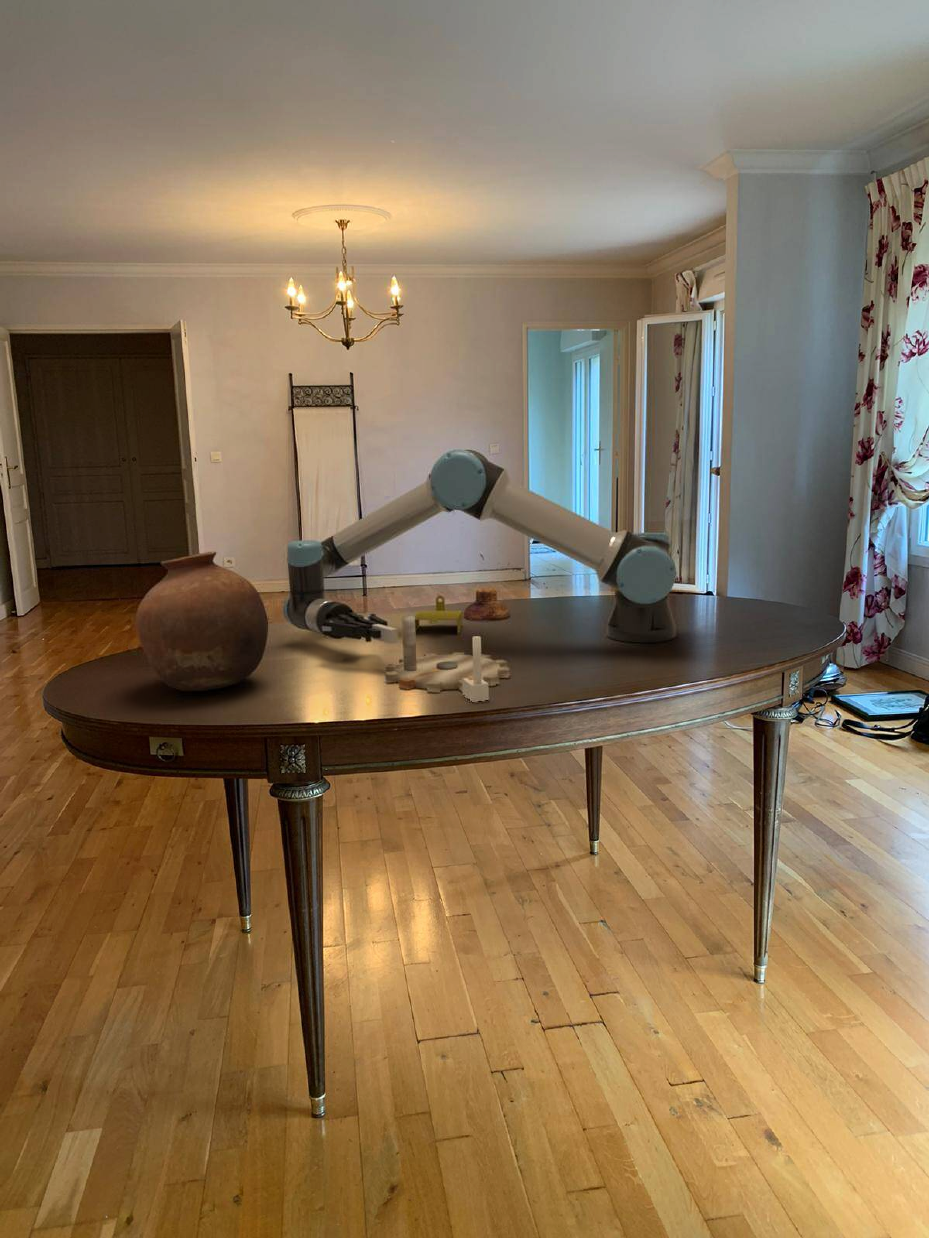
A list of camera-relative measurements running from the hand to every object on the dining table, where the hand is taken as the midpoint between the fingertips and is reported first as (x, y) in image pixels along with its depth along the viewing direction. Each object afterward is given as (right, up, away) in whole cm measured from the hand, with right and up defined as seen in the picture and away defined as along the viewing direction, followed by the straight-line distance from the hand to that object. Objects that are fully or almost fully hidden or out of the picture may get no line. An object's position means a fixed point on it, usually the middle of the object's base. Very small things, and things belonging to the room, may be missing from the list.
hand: (393, 636), depth 167 cm
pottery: (-34, -9, -4) cm, 36 cm away
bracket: (+7, 0, +38) cm, 39 cm away
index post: (+15, -10, -15) cm, 24 cm away
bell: (+19, +3, +55) cm, 58 cm away
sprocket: (+10, -7, 0) cm, 13 cm away
